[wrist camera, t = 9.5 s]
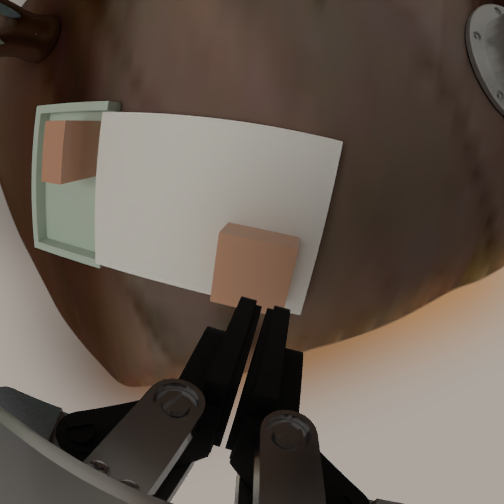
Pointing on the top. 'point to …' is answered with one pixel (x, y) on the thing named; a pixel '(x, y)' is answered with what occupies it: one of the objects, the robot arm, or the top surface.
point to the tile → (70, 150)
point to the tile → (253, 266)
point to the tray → (65, 191)
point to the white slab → (206, 193)
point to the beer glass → (26, 33)
